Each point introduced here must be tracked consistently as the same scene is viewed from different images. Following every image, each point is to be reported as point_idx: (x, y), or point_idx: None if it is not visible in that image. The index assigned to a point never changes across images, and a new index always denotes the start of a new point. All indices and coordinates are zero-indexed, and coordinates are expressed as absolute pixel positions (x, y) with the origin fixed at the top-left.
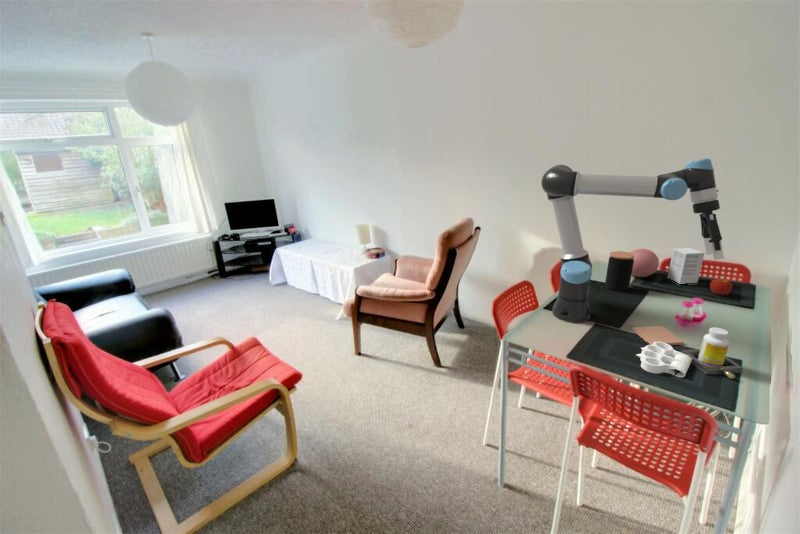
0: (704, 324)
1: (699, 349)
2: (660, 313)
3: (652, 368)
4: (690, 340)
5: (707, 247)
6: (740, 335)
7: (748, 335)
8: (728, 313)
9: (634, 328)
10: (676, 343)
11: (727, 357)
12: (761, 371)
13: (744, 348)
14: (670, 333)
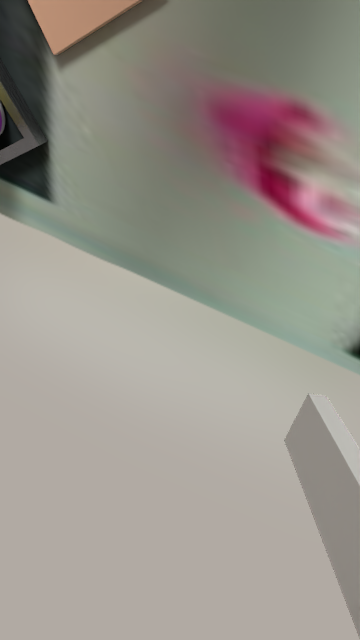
0: (240, 196)
1: (3, 90)
2: (341, 32)
3: None
4: (103, 96)
5: (338, 474)
6: (186, 259)
7: (191, 275)
8: (324, 294)
9: None
10: (36, 15)
11: (4, 161)
12: (22, 219)
13: (116, 235)
14: (104, 9)
